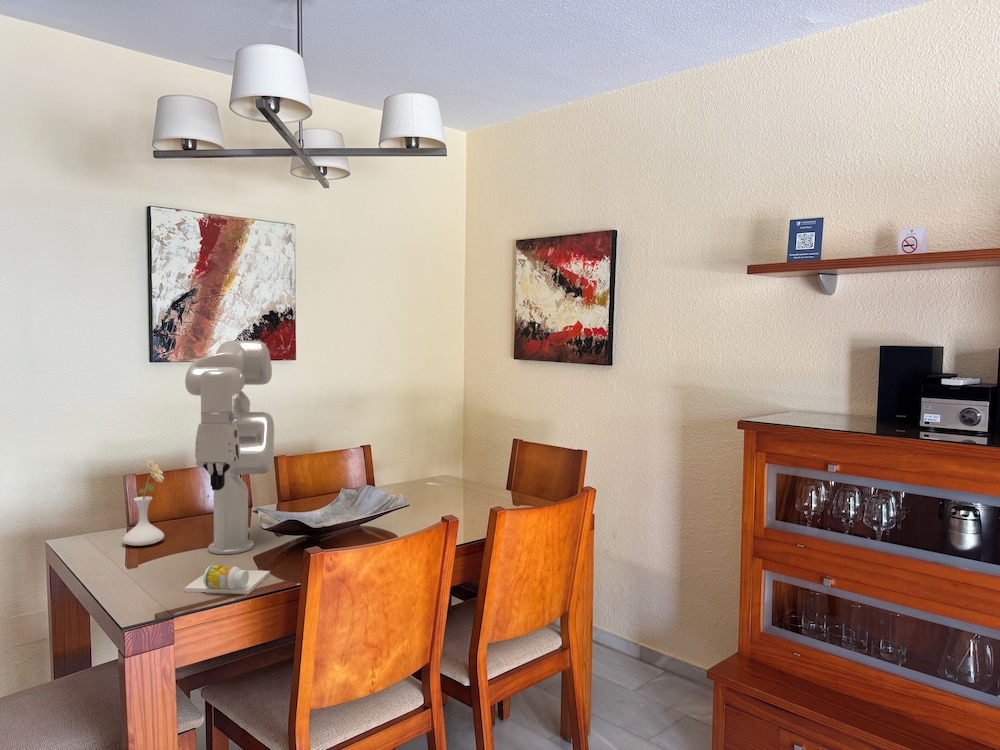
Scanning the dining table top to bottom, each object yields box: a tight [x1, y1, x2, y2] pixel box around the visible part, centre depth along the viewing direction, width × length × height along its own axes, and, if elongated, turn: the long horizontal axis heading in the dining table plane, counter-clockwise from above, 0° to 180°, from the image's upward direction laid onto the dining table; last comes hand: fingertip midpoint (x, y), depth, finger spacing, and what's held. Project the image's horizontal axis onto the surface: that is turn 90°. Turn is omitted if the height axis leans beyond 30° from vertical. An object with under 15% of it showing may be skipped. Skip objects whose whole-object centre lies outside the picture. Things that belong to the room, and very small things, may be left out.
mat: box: [183, 569, 271, 595], centre depth 176 cm, size 14×16×1 cm
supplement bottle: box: [203, 564, 249, 589], centre depth 170 cm, size 5×5×10 cm
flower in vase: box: [121, 459, 165, 547], centre depth 209 cm, size 13×11×25 cm
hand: (217, 489), depth 177 cm, fingers closed
